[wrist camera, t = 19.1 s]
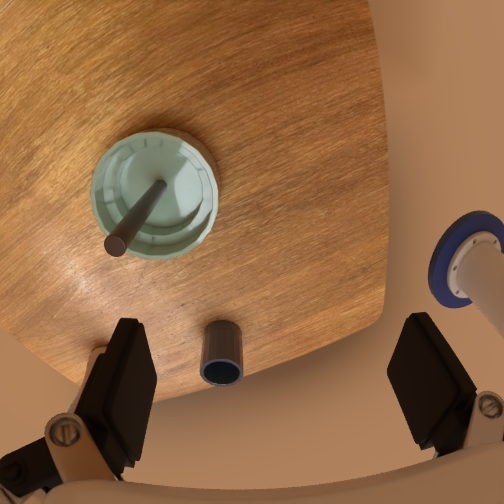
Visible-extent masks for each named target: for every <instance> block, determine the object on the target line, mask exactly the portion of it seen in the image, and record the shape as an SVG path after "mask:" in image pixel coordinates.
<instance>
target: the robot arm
mask: <svg viewBox="0 0 504 504" xmlns="http://www.w3.org/2000/svg"><path fill="white" fill-rule="evenodd" d="M447 285H448V287H449V289H450V291H451V292H452V293H453V294H454V295H455V296H457V297H459V298H468V297H469V299H470V300H471V301H472V302H473V303H474V304H475V305H476V306H477V307H478V309H479V310H480V311H481V312H482V313H483V314H484V316H485V317H486V318H487V319H488V320H489V321H490V323H491V324H492V325H493V326H494V327H495V329H496V330H497V331H498V332H499V334H500V335H501V336H502V337H503V338H504V254H503V253H502V252H501V246H500V243H499V240H498V239H497V238H496V236H494V235H493V234H492V233H490V232H487V231H480V232H477V233H474V234H472V235H471V236H469V237H468V238H467V239H466V240H465V241H463V242H462V244H461V245H460V246H459V247H458V248H457V250H456V251H455V253H454V255H453V257H452V259H451V261H450V264H449V267H448V271H447ZM387 375H388V378H389V380H390V382H391V385H392V387H393V390H394V392H395V394H396V397H397V399H398V401H399V404H400V406H401V409H402V411H403V414H404V416H405V418H406V421H407V424H408V426H409V429H410V431H411V434H412V436H413V439H414V441H415V443H416V444H419V446H420V449H421V450H424V449H428V448H431V447H433V446H434V448H435V450H436V451H435V454H434V457H433V459H432V460H428V461H425V462H422V463H418V464H415V465H412V466H408V467H404V468H401V469H397V470H393V471H389V472H385V473H380V474H376V475H372V476H367V477H362V478H357V479H351V480H346V481H339V482H333V483H326V484H319V485H311V486H301V487H292V488H291V487H290V488H276V489H253V490H219V489H196V488H182V487H170V486H160V485H152V484H143V483H134V482H126V481H125V479H124V478H123V476H122V475H121V474H122V473H123V471H124V467H131V468H134V465H135V461H139V460H140V458H141V453H142V448H143V443H144V438H145V434H146V429H147V424H148V419H149V415H150V410H151V406H152V401H153V397H154V393H155V388H156V384H157V375H156V371H155V368H154V364H153V360H152V357H151V353H150V349H149V345H148V341H147V337H146V333H145V329H144V325H143V323H139V322H138V320H137V319H134V318H120V320H119V322H118V324H117V326H116V328H115V330H114V333H113V335H112V337H111V339H110V342H109V344H108V346H107V348H106V351H105V353H100V354H99V355H98V357H97V358H96V361H95V363H94V365H93V368H92V370H91V372H90V375H89V377H88V379H87V382H86V384H85V386H84V389H83V391H82V394H81V396H80V399H79V401H78V404H77V406H76V409H75V411H74V414H72V413H61V414H58V415H56V416H54V417H52V418H51V419H50V420H49V422H48V423H47V425H46V427H45V433H44V434H45V437H43V438H41V439H39V440H37V441H35V442H32V443H30V444H28V445H26V446H24V447H22V448H20V449H18V450H16V451H13V452H11V453H9V454H7V455H5V456H4V457H2V458H1V459H0V504H504V401H503V399H502V398H501V397H500V396H499V395H498V394H496V393H494V392H491V391H483V392H481V393H479V394H478V395H477V394H476V392H475V391H476V390H477V388H476V387H475V385H474V383H473V381H472V380H471V378H470V377H469V375H468V373H467V372H466V370H465V369H464V367H463V365H462V364H461V362H460V361H459V359H458V358H457V356H456V355H455V353H454V351H453V350H452V348H451V347H450V345H449V344H448V342H447V341H446V340H445V338H444V337H443V335H442V334H441V332H440V331H439V329H438V328H437V326H436V325H435V323H434V322H433V321H432V319H431V318H430V317H429V315H428V314H427V313H426V312H420V313H412V314H411V315H410V316H409V318H407V319H406V321H405V323H404V326H403V329H402V332H401V335H400V337H399V340H398V342H397V345H396V347H395V350H394V353H393V355H392V358H391V360H390V363H389V365H388V368H387Z"/></svg>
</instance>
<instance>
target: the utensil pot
mask: <svg viewBox="0 0 504 504" xmlns="http://www.w3.org/2000/svg"><path fill="white" fill-rule="evenodd" d="M200 375H201V377H202V378H203V379H204V381H206V382H208V383H209V384H211V385H215V386H230V385H234V384H236V383H237V382H239V381H240V380H241V379H242V377H243V349H242V332H241V330H240V328H239V327H238V326H237V325H236V324H234V323H232V322H230V321H225V320H219V321H215V322H212V323H210V324H209V325H208V326H207V327H206V328H205V330H204V337H203V344H202V353H201V363H200Z"/></svg>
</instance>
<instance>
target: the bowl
mask: <svg viewBox="0 0 504 504" xmlns="http://www.w3.org/2000/svg"><path fill="white" fill-rule="evenodd" d="M157 180H163V181H165V182H166V184H167V191H166V192H165V194H164V195H163V197H162V198H161V199H160V201H159V202H158V204H157V205H156V206H155V208H154V209H153V211H152V212H151V214H150V215H149V217H148V218H147V220H146V221H145V222H144V224H143V225H142V227H141V228H140V230H139V231H138V233H137V234H136V236H135V238H134V239H133V241H132V242H131V244H130V245H129V247H128V248H127V250H126V251H125V252H127V253H128V254H130V255H134V256H137V257H140V258H144V259H148V260H168V259H171V258H174V257H178V256H181V255H184V254H186V253H188V252H189V251H191V250H192V249H193V248H195V247H196V246H198V245H199V244H201V242H202V241H203V240H204V238H205V237H206V236H207V234H208V233H209V232H210V230H211V229H212V227H213V224H214V221H215V218H216V215H217V212H218V208H219V202H220V195H221V177H220V174H219V171H218V168H217V165H216V162H215V159H214V158H213V156H212V155H211V154H210V152H209V151H208V150H207V148H206V147H205V146H204V144H202V143H201V142H200V141H198V140H197V139H196V138H194V137H193V136H191V135H190V134H188V133H186V132H183V131H180V130H176V129H173V128H169V127H164V128H150V129H146V130H143V131H141V132H138V133H135V134H133V135H131V136H128V137H126V138H124V139H122V140H119V141H118V142H116V143H115V144H114V145H113V146H112V147H111V148H110V149H109V150H107V151H106V152H105V153H104V154H103V156H102V157H101V159H100V161H99V163H98V165H97V166H96V168H95V170H94V172H93V177H92V182H91V189H90V198H91V205H92V211H93V214H94V216H95V218H96V220H97V222H98V225H99V227H100V229H101V230H102V231H103V233H104V234H105V235H106V236H108V235H109V234H110V233H111V231H112V230H113V229H114V228H115V227H116V225H117V224H118V223H119V222H120V221H121V220H122V218H123V217H124V216H125V215H126V214H127V212H128V211H129V210H130V209H131V208H132V207H133V206H134V204H135V203H136V202H137V201H138V200H139V199H140V198H141V197H142V195H143V194H144V193H145V192H146V191H147V190H148V189H149V188H150V187H151V186H152V184H153V183H154V182H155V181H157Z"/></svg>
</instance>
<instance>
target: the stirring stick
mask: <svg viewBox="0 0 504 504" xmlns="http://www.w3.org/2000/svg"><path fill="white" fill-rule="evenodd" d="M166 191H167V184H166V182H165V181H163V180H157V181H155V182H154V183H153V184H152V186H151V187H150V188H149V189H148V190H147V191H146V192H145V193H144V194H143V195H142V197H141V198H140V199H139V200H138V201H137V202H136V203H135V204H134V206H133V207H132V208H131V209H130V210H129V211H128V212H127V214H126V215H125V216H124V217H123V218H122V220H121V221H120V222H119V223H118V224H117V225H116V227H115V228H114V229H113V230H112V231H111V233H110V234H109V235H108V236H107V238H106V239H105V241H104V247H105V250H106V251H107V253H108V254H110V255H111V256H114V257H119V256H122V255H123V254H124V253H125V251H126V250H127V248H128V247H129V245H130V244H131V242H132V241H133V239H134V238H135V236H136V234H137V233H138V231H139V230H140V228H141V227H142V225H143V224H144V222H145V221H146V220H147V218H148V217H149V215H150V214H151V212H152V211H153V209H154V208H155V206H156V205H157V204H158V202H159V201H160V199H161V198H162V197H163V195H164V194H165V192H166Z"/></svg>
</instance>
